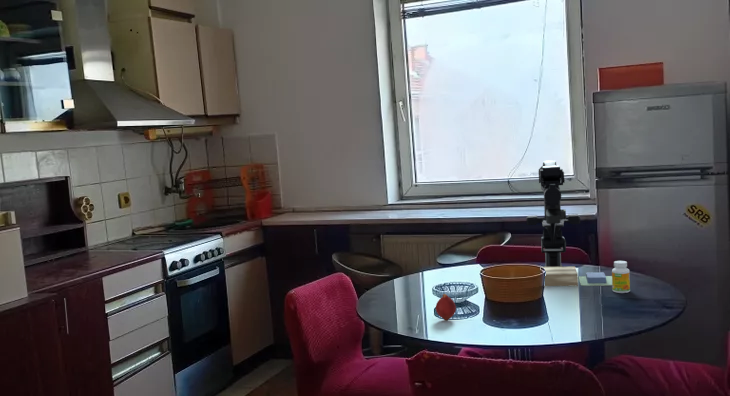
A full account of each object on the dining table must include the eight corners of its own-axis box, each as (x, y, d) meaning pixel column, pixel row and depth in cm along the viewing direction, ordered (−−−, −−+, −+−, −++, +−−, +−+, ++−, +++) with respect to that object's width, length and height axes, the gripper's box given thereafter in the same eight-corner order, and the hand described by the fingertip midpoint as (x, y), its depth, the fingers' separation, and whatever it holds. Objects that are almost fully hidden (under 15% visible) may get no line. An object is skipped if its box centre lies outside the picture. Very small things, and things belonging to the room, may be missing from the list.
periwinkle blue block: (603, 272, 245) (603, 277, 245) (585, 272, 246) (586, 278, 247) (606, 277, 237) (606, 283, 237) (587, 277, 239) (587, 283, 239)
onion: (443, 316, 210) (442, 290, 209) (460, 318, 206) (458, 292, 206) (432, 321, 206) (431, 294, 205) (449, 324, 202) (448, 297, 201)
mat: (578, 277, 250) (578, 276, 250) (613, 276, 247) (613, 276, 247) (580, 285, 237) (580, 284, 237) (618, 285, 234) (618, 284, 234)
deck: (540, 277, 253) (540, 266, 252) (575, 277, 250) (574, 266, 250) (541, 286, 240) (541, 274, 240) (577, 285, 237) (577, 274, 237)
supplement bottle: (612, 293, 225) (612, 263, 224) (612, 289, 230) (611, 260, 229) (630, 293, 223) (629, 263, 222) (629, 289, 228) (628, 260, 227)
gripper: (525, 204, 246) (527, 247, 248) (580, 202, 242) (582, 246, 243) (525, 200, 257) (527, 242, 258) (578, 198, 252) (579, 241, 254)
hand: (553, 243), depth 253 cm, fingers closed
